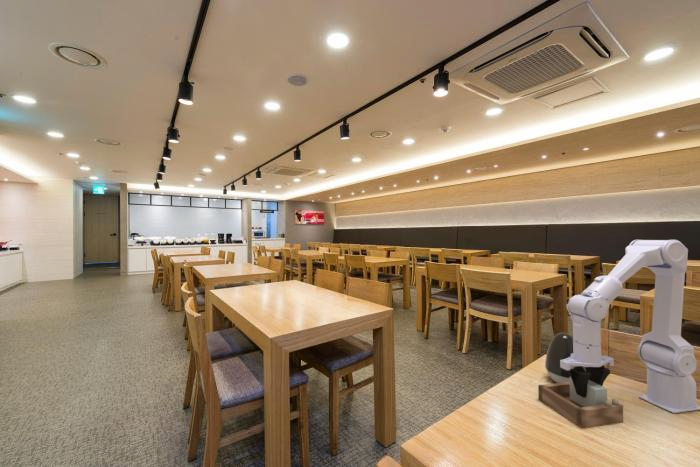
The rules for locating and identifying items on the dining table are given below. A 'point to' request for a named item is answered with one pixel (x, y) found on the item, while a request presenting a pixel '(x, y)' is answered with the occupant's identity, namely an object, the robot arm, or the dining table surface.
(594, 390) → the grey block
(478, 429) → the dining table surface
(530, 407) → the dining table surface
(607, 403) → the wooden rimmed tray
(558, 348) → the dark egg-shaped dome
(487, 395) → the dining table surface
